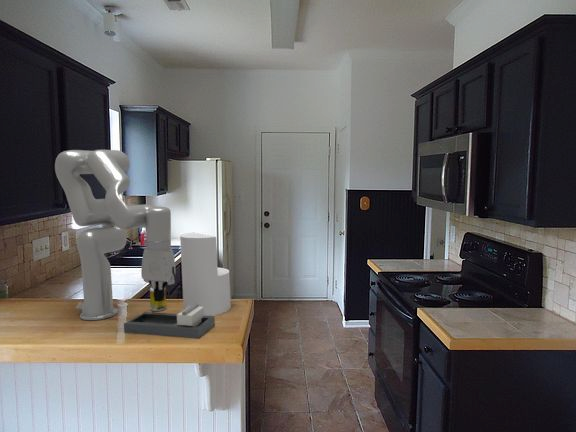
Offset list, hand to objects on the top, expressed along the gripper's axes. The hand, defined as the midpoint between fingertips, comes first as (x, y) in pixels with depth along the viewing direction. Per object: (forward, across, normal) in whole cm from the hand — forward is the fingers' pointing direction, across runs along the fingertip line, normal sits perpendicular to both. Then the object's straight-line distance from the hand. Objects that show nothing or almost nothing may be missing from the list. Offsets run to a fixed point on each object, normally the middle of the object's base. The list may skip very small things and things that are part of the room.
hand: (159, 300), depth 141 cm
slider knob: (+7, +12, 0) cm, 14 cm away
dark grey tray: (+9, +4, 0) cm, 10 cm away
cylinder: (+9, +7, +22) cm, 25 cm away
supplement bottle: (+10, -11, +18) cm, 23 cm away
